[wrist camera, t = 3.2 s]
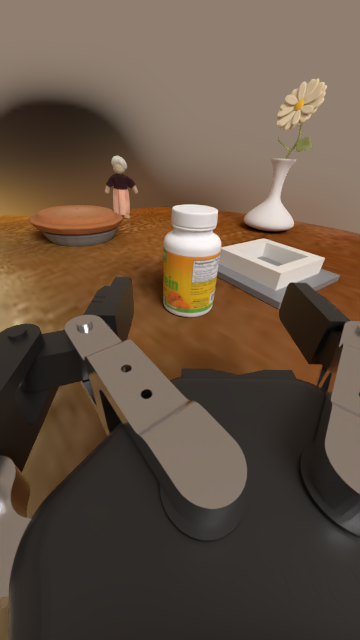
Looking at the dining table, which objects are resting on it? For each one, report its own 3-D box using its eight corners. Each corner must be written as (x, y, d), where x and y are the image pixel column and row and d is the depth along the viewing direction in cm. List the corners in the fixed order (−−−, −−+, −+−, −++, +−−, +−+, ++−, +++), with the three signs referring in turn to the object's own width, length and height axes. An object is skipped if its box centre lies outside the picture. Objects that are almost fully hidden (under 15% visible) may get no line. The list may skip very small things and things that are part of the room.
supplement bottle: (155, 298, 27) (154, 203, 21) (196, 289, 29) (204, 202, 23) (176, 323, 23) (181, 216, 17) (221, 312, 25) (239, 213, 19)
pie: (141, 236, 46) (139, 209, 44) (73, 258, 36) (65, 223, 33) (88, 223, 53) (84, 198, 50) (17, 238, 42) (7, 207, 39)
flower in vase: (235, 223, 60) (258, 86, 45) (276, 223, 62) (311, 92, 47) (257, 238, 49) (297, 66, 35) (306, 237, 51) (362, 75, 37)
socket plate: (197, 266, 35) (199, 245, 33) (257, 251, 42) (261, 233, 40) (277, 308, 26) (286, 284, 24) (337, 280, 33) (347, 260, 31)
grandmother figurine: (108, 219, 56) (100, 154, 49) (107, 215, 59) (100, 154, 52) (140, 218, 58) (137, 156, 51) (138, 215, 61) (135, 156, 54)
